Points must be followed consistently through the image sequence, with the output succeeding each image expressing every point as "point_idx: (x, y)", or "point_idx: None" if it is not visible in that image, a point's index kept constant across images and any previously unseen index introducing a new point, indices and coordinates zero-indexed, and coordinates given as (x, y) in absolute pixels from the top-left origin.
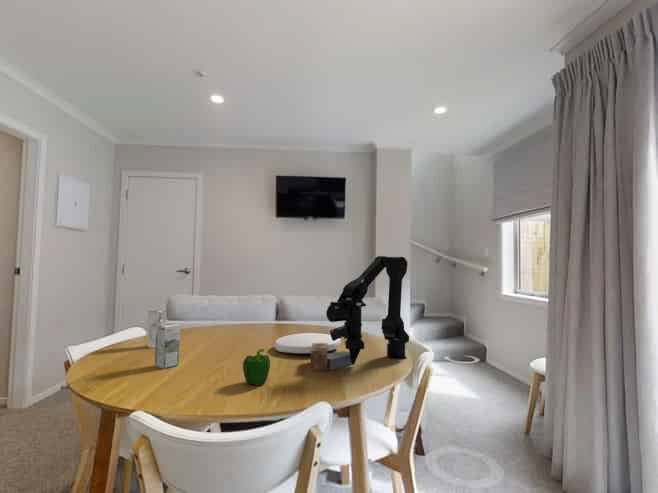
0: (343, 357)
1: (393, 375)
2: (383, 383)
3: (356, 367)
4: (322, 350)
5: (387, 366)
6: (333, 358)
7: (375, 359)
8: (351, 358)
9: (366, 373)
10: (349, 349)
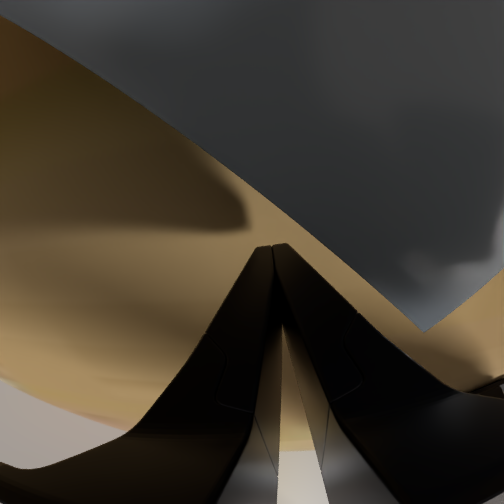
0: (244, 169)
1: None
2: (19, 381)
3: None
4: None
5: None
6: (25, 7)
7: (462, 355)
8: (232, 300)
9: (105, 340)
10: (125, 444)
